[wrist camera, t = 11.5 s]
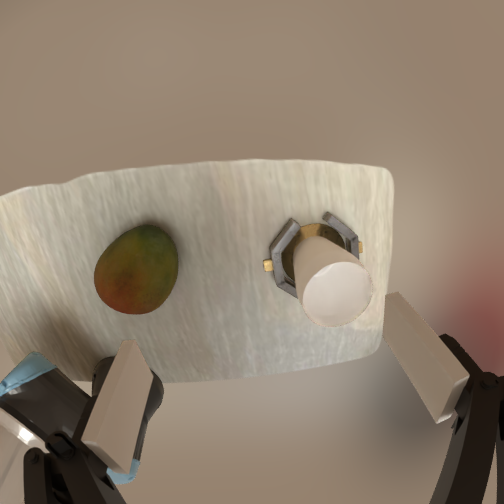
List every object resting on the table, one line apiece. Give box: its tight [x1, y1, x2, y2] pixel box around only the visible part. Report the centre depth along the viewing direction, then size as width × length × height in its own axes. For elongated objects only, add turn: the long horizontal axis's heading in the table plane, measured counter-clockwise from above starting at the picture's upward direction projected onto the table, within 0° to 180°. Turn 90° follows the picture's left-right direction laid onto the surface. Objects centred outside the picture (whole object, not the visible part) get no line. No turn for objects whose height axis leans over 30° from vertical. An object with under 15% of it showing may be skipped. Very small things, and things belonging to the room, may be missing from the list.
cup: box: [293, 236, 373, 327], centre depth 38 cm, size 9×9×12 cm
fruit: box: [94, 225, 178, 314], centre depth 38 cm, size 12×13×10 cm
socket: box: [263, 212, 363, 299], centre depth 43 cm, size 15×13×2 cm
